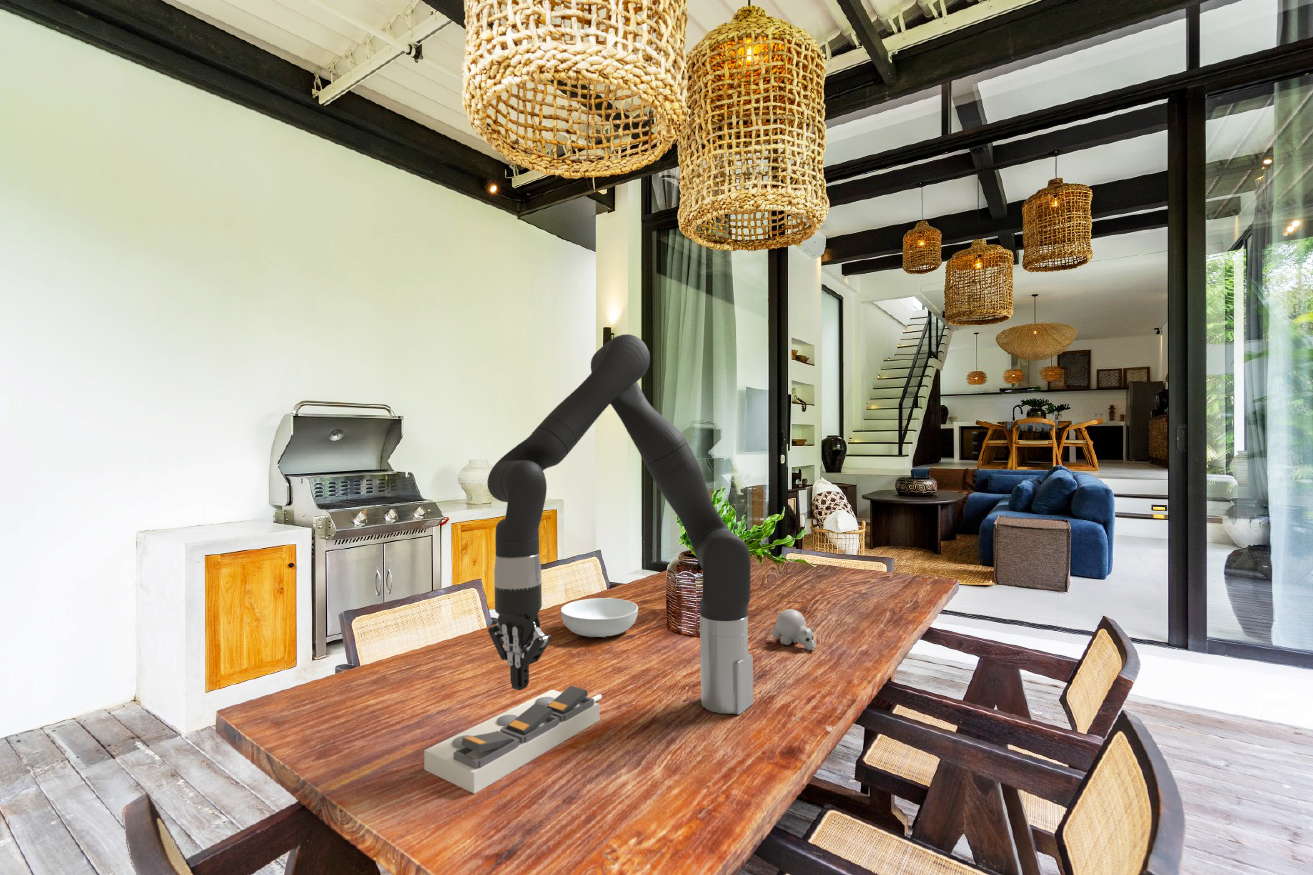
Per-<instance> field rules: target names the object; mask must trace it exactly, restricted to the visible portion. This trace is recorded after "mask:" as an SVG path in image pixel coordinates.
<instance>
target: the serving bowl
mask: <svg viewBox="0 0 1313 875" xmlns="http://www.w3.org/2000/svg"><path fill="white" fill-rule="evenodd" d="M638 614H639V606H638V604H636V603H635V602H633V601H630V600H626V599H622V598H614V597H607V598H606V597H595V598H594V597H593V598H585V599H580V600H573V601H571V602H569V603H566V604H564V605H563V606H562V607H561V608H560V615H561V619H562V623H563V624H564V625H565V627H566V628H567V629H568V630H570V631H571V632H572V633H574V634H577V635H579V636H582V637H583V636H584V637H589V638H593V637H602V638H608V637H607V636H609V637H612V636H616V635H619V634H622V633H624V632H626V631H627V630H629V629H630V628H631V627H632V626H633V625H634V624H635V622H636V620H637V617H638Z"/></svg>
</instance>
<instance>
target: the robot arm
mask: <svg viewBox="0 0 1313 875" xmlns="http://www.w3.org/2000/svg"><path fill="white" fill-rule="evenodd" d="M650 361H651V354H650V351H649V349H648V347H647V345H646V343H645V342H644V341H643V340H642V339H640V338H639V337H638V336H636V335H632V334H621V335H617V336H615V337H613V338H611V339H610V340H609V341H607V342H606V343H605V344H603V346H601V347H600V348H599V349H598V350H596V352H594V354H593V356H592V358H591V361H590V371H591V373H590V374H589V375H588V377H586V379H585V380H583V382H582V383H581V384H580V385H579V386H578V387H577V388H575V389H574V390H573V391H572V392H571V393H569V395H568V396H566V397H565V398H564V400H562V401H561V402H560V403H558V405H557V406H555V408H554V409H552V410H551V412H550V413H548V415H547V416H546V417H545V418H544V419H543V420H542V421H541V422H540V423H539V425H538V426H536V428H535V429H534V430H533V431H532V433H531V434H530V435H529V436H528V437H526V438H525V439H524V440H522V441H521V442H519V444H517V445H516V446H514V447H513V448H511V450H509V451H507V453H506V454H504V455H503V456H501V458H499V460H498V461H497V462H496V463H495V464H494V466H493V467H492V468H491V470H490V471H489V474H488V476H487V483H486V484H487V488H488V492H489V493H490V495H491V496H492V498H494V499H496V500H497V501H500V502H503V503H507V506H506V512H505V518H503V519H501V520H499V521H498V522H497V524H496V527H495V537H494V538H495V560H494V561H495V563H494V569H493V570H494V571H493V572H494V573H493V576H494V577H493V578H494V582H493V583H494V584H493V586H494V611H495V613H496V614H498V616H497V623H495V625H493V626H490V627H488V628H487V633H488V634H489V637H490V638H491V640H492V642H493V645H494V647H495V649H496V651H497V654H498V655H499V658H500V659H501V660H502V661H506V662H507V665H508V666H509V667H510V671H509V672H510V683H511V688H512V689H513V690H516V691H522V690H524V689H526V688H527V687H528V685H529V684H530V670H529V669H530V665H531V664H534V663H537V662H538V661H539V660H540V659H541V657H542V655H543V654H544V652H545V650H546V649H547V647H548V646H549V644H550V642H551V641H552V636H551V634H549V633H547V634H545V633H544V632H543V631H542V629H541V621H540V618H539V612H540V610H541V609H542V606H543V604H542V601H543V600H542V595H543V594H542V565H541V564H542V563H541V559H540V532H539V531H540V524H541V520H542V517H543V511H544V509H545V508H544V507H545V502H546V499H547V498H546V497H547V489H548V488H547V485H548V484H547V480H546V475H545V472H544V471H545V470H546V469H549V468H552V467H555V466H557V465H559V464H560V463H561V462H562V461H563V460H564V459H565V458H566V457H567V456H568V455H569V453H570V452H571V451H572V450H573V449H574V447H575V446H576V445H577V444H578V443H579V442H580V440H581V439H582V438H583V437H584V436H585V434H586V433H587V432H588V430H589V429H590V428H591V427H592V425H594V423H595V422H596V421H597V419H598V418H599V417H600V416H601V415H602V413H603V412H604V411H605V410H606V409H607V408H608V407H609V406H610V405H611V407H612V408H613V410H614V411H615V413H616V414H617V416H618V418H619V419H620V420H621V422H622V424H623V426H624V428H625V430H626V432H627V433H628V435H629V437H630V438H631V440H632V442H633V444H634V445H635V447H636V449H637V452H638V453H639V454H640V457H641V458H642V459H641V460H643V463H644V465H645V466H646V468H647V470H648V471H649V474H650V475H651V477H652V480H653V481H654V483H655V484H656V486H657V487H658V489H659V491H660V492H661V494H662V495H663V497H664V499H666V500H665V501H666V502H667V503H668V505H669V506H670V507H671V508H672V510H673V511H674V513H675V515H677V517H678V519H679V520H680V522H681V524H682V526H683V528H684V530H685V533H686V535H687V537H688V540H689V542H690V544H691V547H692V549H693V552H694V554H695V557H696V559H697V563H698V564H699V566H700V568H702V595H701V599H700V601H699V639H700V641H699V642H700V643H699V645H700V646H699V648H700V656H699V657H700V700H701V702H700V703H701V705H702V707H703V708H704V707H705V708H706V710H707V711H710V712H713V713H716V712H717V714H723V715H725V714H730V715H731V714H734V715H742V713H744V711H746V710H747V709H749V708H750V707H751V706H752V705H753V704H754V674H753V673H754V672H753V671H754V668H753V667H754V665H753V658H754V657H753V654H752V653H749V627H748V626H749V624H748V623H749V622H748V617H749V615H748V614H749V611H748V610H749V608H748V607H749V605H750V601H751V583H752V582H751V577H752V576H751V566H752V564H751V554H750V549H749V547H748V544H746V543H745V541H744V540H743V539H742V538H740V537H739V536H738V535H736V534H734V533H733V532H732V531H731V529H730V528H729V527H728V526H727V524H726V523H725V522H724V520H723V519H722V517H721V515H720V514H719V512H718V510H717V509H716V508H715V505H714V504H713V502H712V500H711V496H710V493H709V491H708V487H707V484H706V480H705V478H704V475H703V472H702V470H701V466H700V464H699V462H698V460H697V458H696V456H695V454H694V452H693V450H692V448H691V447H690V445H689V443H688V442H687V440H686V438H685V437H684V435H683V433H682V432H681V431H680V430H679V429H678V428H677V427H676V426H675V425H674V424H673V423H671V422H670V421H669V420H667V419H666V418H665V417H664V416H663V415H661V413H659V412H658V411H657V410H655V409H654V407H653V406H652V405H651V404H650V403H649V401H648V399H647V398H646V396H645V394H644V393H643V390H642V389H641V387H640V386H639V383H638V381H639V380H640V379H642V378H643V376H644V375H645V374H646V373H647V371H648V369H649V367H650V363H651V362H650ZM705 708H704V709H705Z"/></svg>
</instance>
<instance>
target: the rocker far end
mask: <svg viewBox="0 0 1313 875" xmlns="http://www.w3.org/2000/svg"><path fill="white" fill-rule="evenodd" d="M511 742H512V738H509V737H507V736H504V735H501V734H499V733H496V732H493V733H487V734H482V735H476V736H470V737H465V738H463V739H462V746H465V747H467V748H470V749H472V750H474V751H477V752H483V751H487V750H492V749H497V748H501V747H504V746H506V745H507V744H509V743H511Z"/></svg>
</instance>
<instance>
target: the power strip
mask: <svg viewBox="0 0 1313 875" xmlns="http://www.w3.org/2000/svg"><path fill="white" fill-rule="evenodd" d="M561 693H563V692H562V691H558V690H556V689H555V690H554V689H550V690H548V691H546V692H544V693H542V694H540V695H538V696H536V697H533V698H531V699H530V700H527V701H524V702H523V703H521V704H519V705H516V706H514V707H512V708H510V709H509V710H508V709H507V710H505V711H504V712H502V713H499V714H498V715H495V716H493V717H491V718H489V719H487V720H485V721H482V722H481V723H479V724H476V725H474V726H472V727H469V728H468V729H466V730H464V731H461V732H459V733H457V734H455V735H453V736H451V737H449V738H447V739H445V740H443V741H440V742H438V743H437V744H434V745H433V746H430V747H428V748H426V749H424V752H423V754H424V757H423V760H424V762H423V763H424V765H423V768H424V770H425V771H427V772H428V773H430V774H432V775H434V776H437V777H439V778H441V779H443V780H445V781H446V782H449V783H452V784H453V785H455V786H457V787H459V788H461V789H464V790H465V791H468V792H470V793H471V794H474V795H475V794H477V793H478V792H480V791H482V790H484V789H485V788H487V787H489V786H491V785H492V784H494V783H495V782H497V781H499V780H500V779H502V778H504V777H506V776H507V775H509V774H511V773H512V772H514V771H516V770H517V769H520V768H521V767H522V766H524V765H526V764H528V763H529V762H531V761H533V760H534V759H536V758H538V757H540V756H541V755H543V754H545V753H547V752H549V750H551V749H553V748H555V747H557V746H558V745H560V744H561V743H563V742H565V741H567V740H568V739H570V738H572V737H574V736H575V735H577V734H578V733H580V732H582V731H584V730H586V729H587V728H589V727H591V726H592V725H594V724H596V723H598V722H599V721H600V720H601V718H600V712H601V711H600V703H599V702H598V701H600V700H601V699H603V698H602V697H603V696H602V694H601V693H597V694H596V695H595V696H592V697H589V696H587V697H585V698H584V699H583V700H582V701H581V702H580V703H579V704H578V705H577V706H575V707H574V708H573V709H572V710H571V711H569V712H567V713H565V714H560V713H557V712H554V711H552V713H553V714H552V715H551V716H550V717H549V718H548V719H546V720H545V721H544V722H543V723H542V724H540V725H539V726H538V727H537V728H536V729H534V730H533V731H532V732H530V733H528V734H526V735H521V734H518V733H516V732H513V731H510V730H508V727H507V725H508V724H509V723H511V722H512V721H513V720H515V719H516V718H517V717H518V716H520V715H521V714H522V713H524V712H525V711H526V710H527V709H529V708H530V707H531V706H532V705H534V704H538V705H541V706H544V707H547V705H549V704H550V703H551V702H552V701H553V700H554V699H556V698H557V697H558V696H559V695H560V694H561ZM493 732H496V733H499V734H501V735H504V736H507V737H509V738H512V742H511V743H509V744H507V745H506V746H504V747H501V748H497V749H492V750H487V751H483V752H477V751H474V750H472V749H470V748H467V747H465V746H462V739H463V738H465V737H470V736H476V735H482V734H487V733H493Z"/></svg>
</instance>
